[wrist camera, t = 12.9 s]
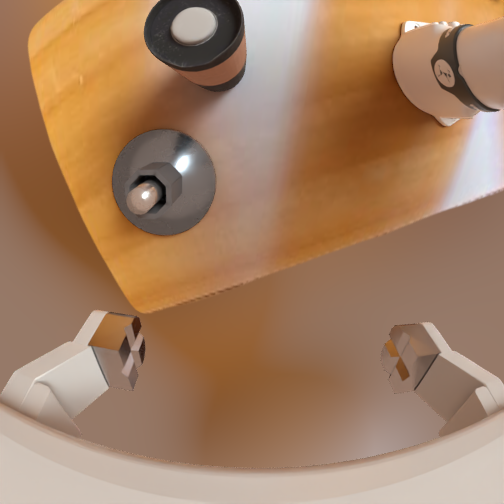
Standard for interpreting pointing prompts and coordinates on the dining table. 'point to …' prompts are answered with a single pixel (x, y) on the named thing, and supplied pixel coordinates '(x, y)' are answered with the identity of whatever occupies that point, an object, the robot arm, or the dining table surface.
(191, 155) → the grey metal round base
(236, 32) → the travel mug
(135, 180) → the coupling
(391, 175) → the dining table surface
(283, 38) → the dining table surface
